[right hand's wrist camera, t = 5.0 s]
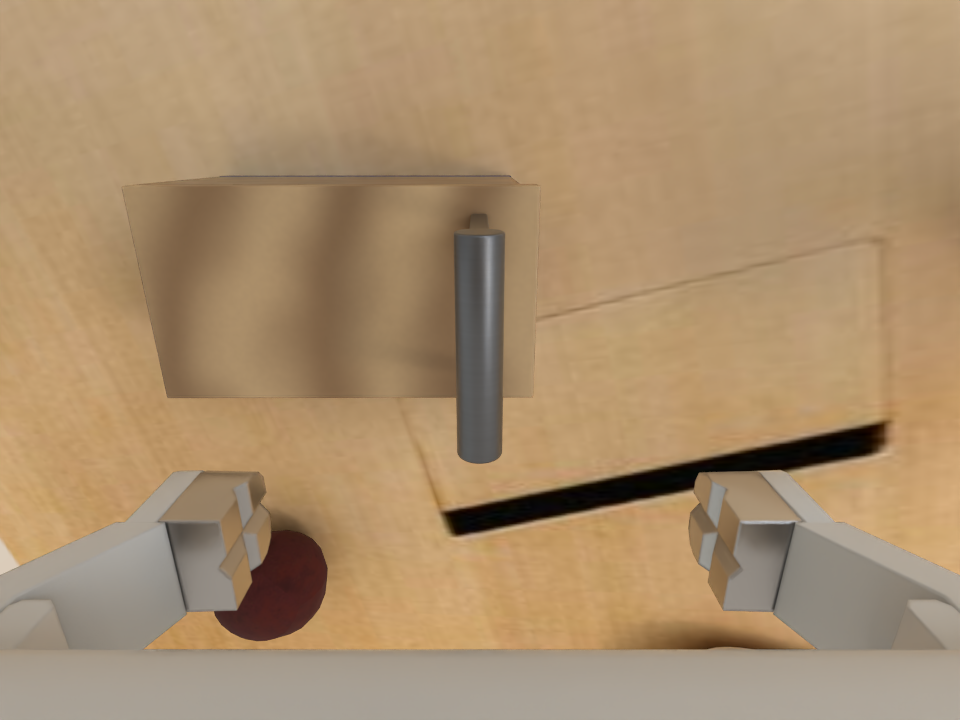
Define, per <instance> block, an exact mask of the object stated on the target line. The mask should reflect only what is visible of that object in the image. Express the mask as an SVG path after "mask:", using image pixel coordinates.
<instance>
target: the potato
mask: <svg viewBox="0 0 960 720" xmlns="http://www.w3.org/2000/svg"><path fill="white" fill-rule="evenodd" d="M250 572H251V578H252V583H251V585H250V587H249V589H248V591H247V593H246V594H245V596H244V598H243V600H242V602H241V604H240V606H239V607H238V609H237V610H236V611H214V613H215V616H216V618H217V619H218V621H219V622H220V623H221V625H222V626H224V627H225V628H226V629H227V630H228V631H230V632H231V633H233V634H235V635H237V636H239V637H241V638H244V639H248V640H254V641H267V640H271V639H275V638H278V637H282V636H285V635H288V634H291V633H293V632H295V631H297V630H299V629H301V628H302V627H303V626H304V625H305V624H306V623H307V622H308V621H309V620H310V619H311V618H312V617H313V616H314V615H315V613H316V612H317V611H318V609H319V608H320V605H321V603H322V600H323V598H324V595H325V591H326V581H327V565H326V562H325V559H324V556H323V553H322V550H321V548H320V547H319V546H318V545H317V544H316V542H315V541H314V540H313V539H312V538H310V537H308V536H306V535H304V534H302V533H299V532H294V531H288V530H285V531H272V532H271V539H270V544H269V548H268V552H267V554H266V556H265V558H264V560H263V562H262V564H261V565H259V566H258V567H256V568H255V569H253V570H252V571H250Z"/></svg>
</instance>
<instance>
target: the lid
mask: <svg viewBox="0 0 960 720" xmlns="http://www.w3.org/2000/svg"><path fill="white" fill-rule="evenodd" d="M122 191H123V196H124V200H125V205H126V209H127V214H128V219H129V223H130V228H131V232H132V237H133V242H134V246H135V251H136V255H137V260H138V265H139V269H140V274H141V278H142V283H143V287H144V292H145V297H146V301H147V306H148V310H149V315H150V320H151V324H152V329H153V333H154V338H155V343H156V347H157V352H158V356H159V361H160V366H161V370H162V375H163V379H164V384H165V389H166V393H167V397H168V398H456V402H457V453H458V455H459V457H460V458H461V459H463V460H465V461H467V462H470V463H477V464H482V463H489V462H492V461H495V460H496V459H498V458H499V457H500V456H501V454H502V417H503V397H533V387H534V359H535V331H536V303H537V276H538V248H539V220H540V193H541V187H540V186H539V185H537V184H300V185H128V186H122Z"/></svg>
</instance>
